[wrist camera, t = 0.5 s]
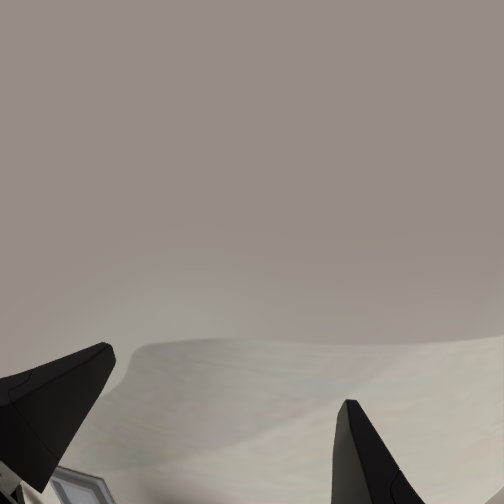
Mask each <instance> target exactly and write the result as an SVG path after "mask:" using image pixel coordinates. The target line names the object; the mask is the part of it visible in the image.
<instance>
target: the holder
mask: <svg viewBox="0 0 504 504" xmlns="http://www.w3.org/2000/svg"><path fill="white" fill-rule="evenodd" d="M49 482H50V484H51V485H52V487H53V489H54V491H55V493H56V495H57V497H58V499H59V500H60V502H61V504H115V502H114V500H113V498H112V496H111V494H110V492H109V490H108V488H107V486H106V484H105V482H104V480H103V479H98V478H94V477H90V476H87V475H83V474H79V473H76V472H73V471H69V470H66V469H63V468H60V467H56V469H55V470H54V472H53V474H52V476H51V478H50V480H49Z"/></svg>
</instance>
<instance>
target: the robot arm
mask: <svg viewBox="0 0 504 504" xmlns="http://www.w3.org/2000/svg"><path fill="white" fill-rule="evenodd" d="M115 363H116V358H115V355H114V351H113V348H112V346H111V345H110V344H108V343H105V342H101V343H98V344H96V345H94V346H91V347H89V348H86V349H83V350H81V351H78V352H76V353H73V354H70V355H68V356H65V357H62V358H60V359H57V360H55V361H52V362H49V363H46V364H44V365H41V366H38V367H36V368H34V369H30V370H27V371H24V372H21V373H18V374H15V375H12V376H8V377H4V378H0V504H25V501H24V497H23V492H22V487H21V485H20V482H21V481H22V480H23V481H25V482H26V483H27V484H29V485H30V486H31V487H32V488H34V489H35V490H36V491H38V492H39V493H41V494H42V492H43V491H44V489H45V487H46V485H47V483H48V481H49V480H50V478H51V476H52V474H53V472H54V470H55V469H56V467H57V465H58V463H59V461H60V460H61V458H62V456H63V454H64V453H65V451H66V449H67V447H68V446H69V444H70V442H71V441H72V439H73V437H74V436H75V434H76V432H77V431H78V429H79V427H80V426H81V424H82V422H83V421H84V419H85V418H86V416H87V414H88V413H89V411H90V409H91V408H92V406H93V405H94V403H95V402H96V400H97V398H98V397H99V395H100V393H101V392H102V390H103V388H104V386H105V384H106V382H107V380H108V378H109V376H110V374H111V372H112V370H113V368H114V366H115ZM399 469H400V468H399V466H398V465H397V463H396V462H395V460H394V458H393V457H392V455H391V454H390V452H389V450H388V449H387V447H386V446H385V444H384V442H383V441H382V439H381V438H380V436H379V434H378V433H377V431H376V430H375V428H374V427H373V425H372V423H371V422H370V420H369V419H368V417H367V415H366V414H365V412H364V411H363V409H362V408H361V406H360V404H359V403H358V401H357V400H350V399H346V400H345V401H344V403H343V405H342V407H341V409H340V411H339V413H338V416H337V424H336V432H335V440H334V448H333V467H332V497H331V504H425V503H424V502H423V500H422V499H421V498H420V497H419V496H418V494H417V493H416V492H415V490H414V489H413V488H412V487H411V485H410V484H409V482H408V481H407V479H406V478H405V476H404V474H403V473H402V471H401V470H399Z"/></svg>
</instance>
